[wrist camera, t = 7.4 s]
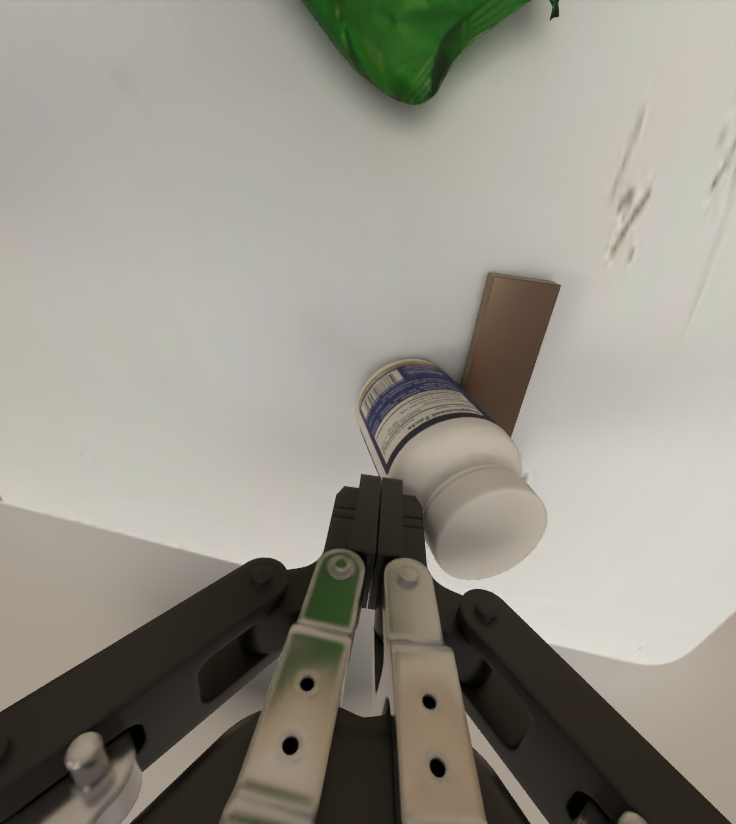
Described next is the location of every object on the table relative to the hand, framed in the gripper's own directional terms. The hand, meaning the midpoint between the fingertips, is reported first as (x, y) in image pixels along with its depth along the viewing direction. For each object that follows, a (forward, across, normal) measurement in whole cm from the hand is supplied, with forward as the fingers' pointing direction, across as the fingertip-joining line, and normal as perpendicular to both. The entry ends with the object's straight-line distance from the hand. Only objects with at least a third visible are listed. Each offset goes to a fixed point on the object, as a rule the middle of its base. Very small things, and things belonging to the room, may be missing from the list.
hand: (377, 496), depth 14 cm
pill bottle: (+8, -1, 0) cm, 8 cm away
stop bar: (+9, -5, -1) cm, 10 cm away
